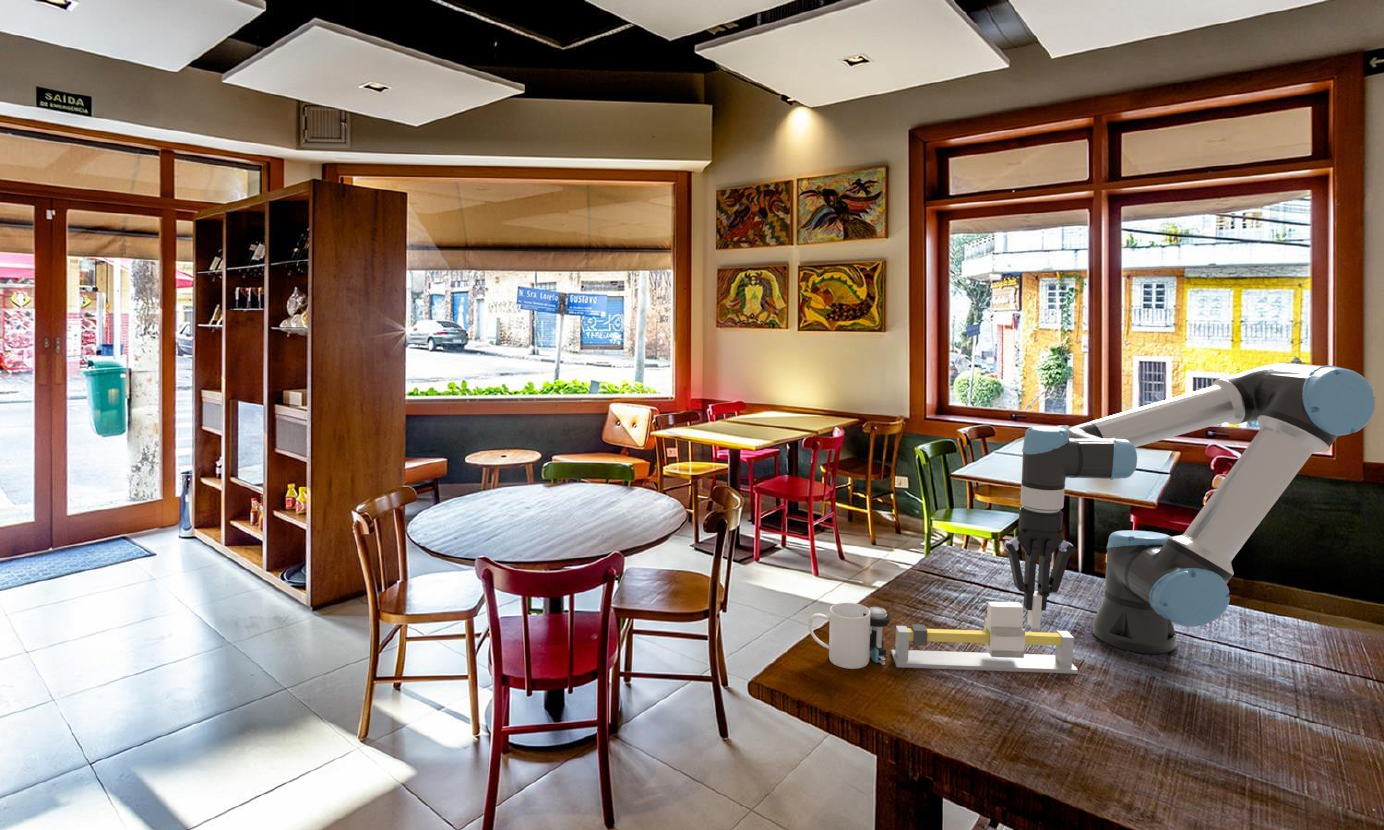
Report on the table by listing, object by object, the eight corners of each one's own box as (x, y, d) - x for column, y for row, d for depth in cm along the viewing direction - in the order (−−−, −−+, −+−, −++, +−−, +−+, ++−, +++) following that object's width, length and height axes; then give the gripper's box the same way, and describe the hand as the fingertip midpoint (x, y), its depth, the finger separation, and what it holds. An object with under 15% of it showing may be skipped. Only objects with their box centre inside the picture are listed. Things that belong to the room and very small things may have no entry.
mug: (863, 650, 152) (864, 601, 151) (873, 668, 144) (875, 617, 143) (804, 652, 152) (805, 603, 150) (812, 670, 144) (812, 619, 143)
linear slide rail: (1065, 659, 148) (1067, 627, 147) (1077, 673, 142) (1079, 640, 141) (891, 653, 151) (892, 622, 150) (896, 667, 145) (897, 635, 144)
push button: (896, 666, 146) (898, 617, 144) (870, 667, 145) (872, 619, 143) (882, 650, 152) (884, 604, 151) (857, 652, 151) (859, 605, 150)
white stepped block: (1014, 645, 148) (1016, 599, 147) (1023, 657, 143) (1026, 610, 141) (983, 644, 149) (985, 598, 147) (991, 656, 143) (994, 609, 142)
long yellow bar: (1061, 643, 146) (1062, 628, 145) (1067, 650, 143) (1068, 635, 142) (895, 637, 149) (896, 623, 148) (898, 644, 146) (898, 629, 146)
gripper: (1068, 503, 144) (1060, 618, 147) (999, 501, 145) (993, 616, 149) (1085, 513, 137) (1076, 634, 140) (1012, 512, 138) (1005, 632, 141)
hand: (1033, 625), depth 144 cm, fingers closed
